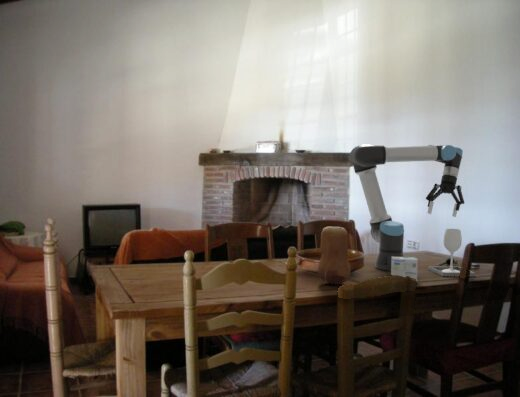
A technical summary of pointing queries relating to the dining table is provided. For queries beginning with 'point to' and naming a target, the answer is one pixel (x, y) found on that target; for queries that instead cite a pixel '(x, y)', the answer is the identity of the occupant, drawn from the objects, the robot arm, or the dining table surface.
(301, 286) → the dining table surface
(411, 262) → the light bulb box
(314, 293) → the dining table surface
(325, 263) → the butternut squash
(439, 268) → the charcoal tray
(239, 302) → the dining table surface
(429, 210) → the robot arm
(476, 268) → the dining table surface
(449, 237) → the wineglass
